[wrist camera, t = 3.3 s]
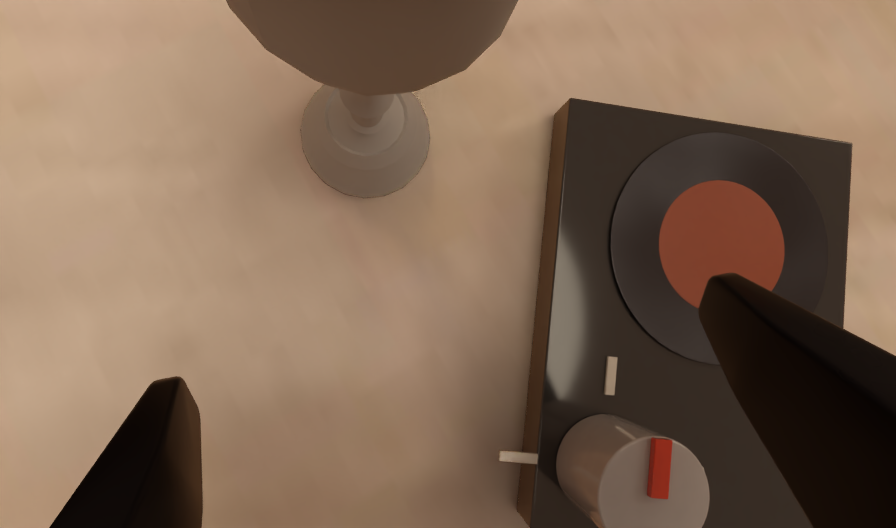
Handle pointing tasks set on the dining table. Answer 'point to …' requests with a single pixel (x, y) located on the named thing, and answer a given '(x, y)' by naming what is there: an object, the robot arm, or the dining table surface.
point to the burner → (712, 234)
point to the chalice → (372, 76)
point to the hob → (624, 341)
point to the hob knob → (631, 476)
